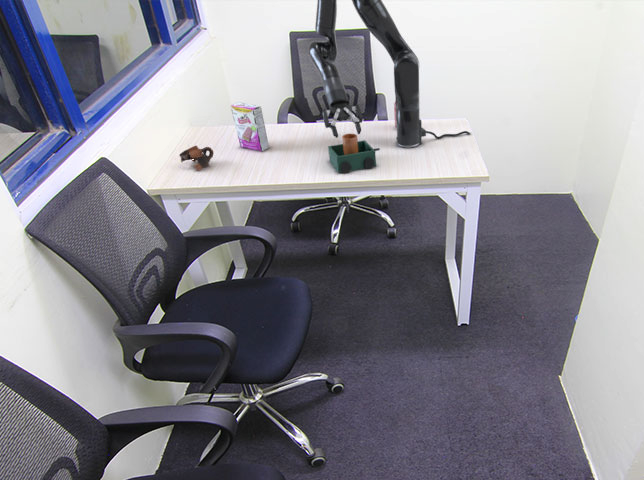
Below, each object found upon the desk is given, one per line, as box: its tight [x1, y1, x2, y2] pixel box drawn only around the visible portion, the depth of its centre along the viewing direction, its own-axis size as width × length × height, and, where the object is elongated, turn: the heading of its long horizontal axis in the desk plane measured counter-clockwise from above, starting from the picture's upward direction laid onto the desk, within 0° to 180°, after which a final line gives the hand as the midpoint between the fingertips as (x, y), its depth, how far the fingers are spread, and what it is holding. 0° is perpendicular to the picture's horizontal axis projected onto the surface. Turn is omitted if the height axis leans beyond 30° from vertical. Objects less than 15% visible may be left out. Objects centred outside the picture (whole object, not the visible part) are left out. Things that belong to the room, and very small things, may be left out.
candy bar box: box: [230, 102, 270, 152], centre depth 200 cm, size 11×5×16 cm, turn 65°
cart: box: [327, 139, 377, 174], centre depth 190 cm, size 15×12×6 cm
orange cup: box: [341, 133, 359, 155], centre depth 189 cm, size 5×5×10 cm
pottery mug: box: [179, 145, 215, 172], centre depth 191 cm, size 12×10×8 cm
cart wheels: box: [340, 147, 381, 174], centre depth 192 cm, size 18×14×4 cm
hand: (348, 135), depth 187 cm, fingers open, 8 cm apart
